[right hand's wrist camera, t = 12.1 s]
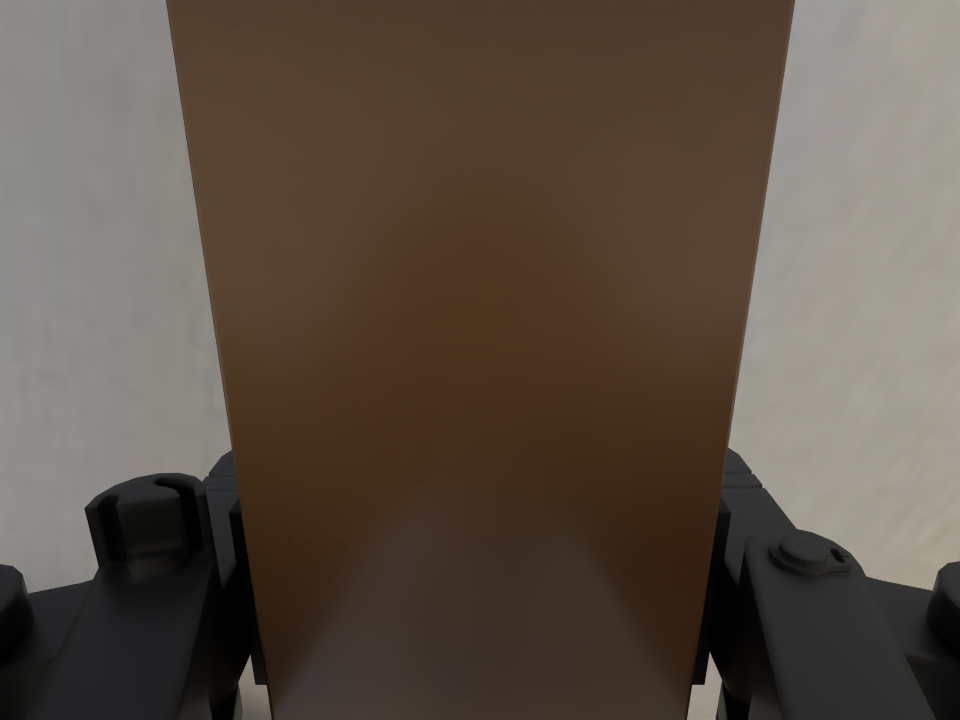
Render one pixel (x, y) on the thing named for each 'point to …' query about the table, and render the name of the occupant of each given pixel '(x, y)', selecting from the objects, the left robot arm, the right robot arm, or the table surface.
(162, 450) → the table surface
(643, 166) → the bar
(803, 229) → the table surface
